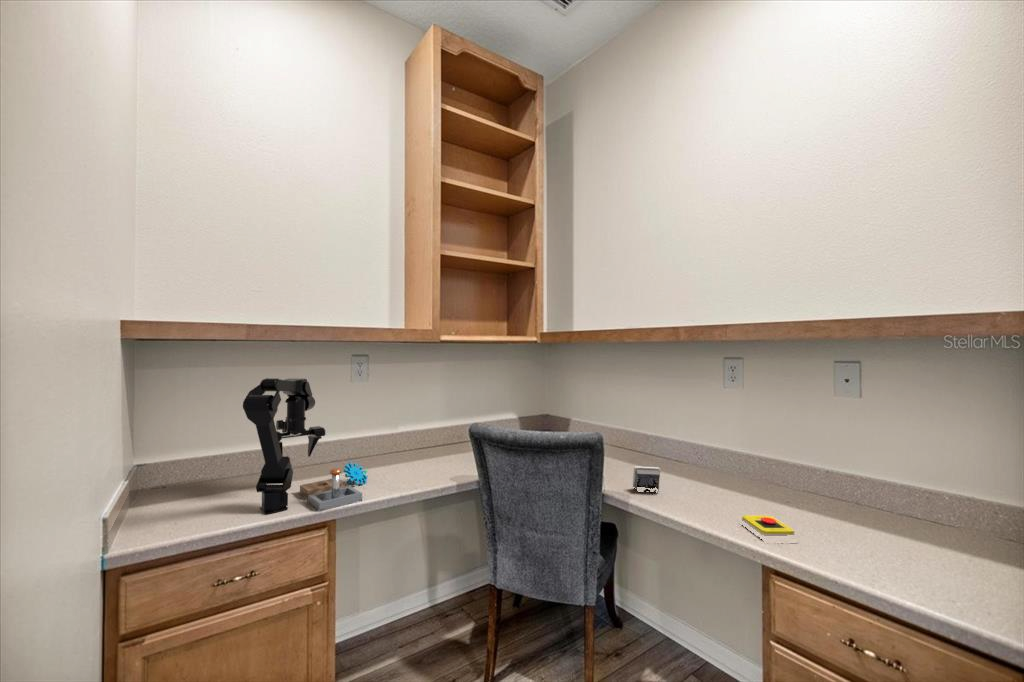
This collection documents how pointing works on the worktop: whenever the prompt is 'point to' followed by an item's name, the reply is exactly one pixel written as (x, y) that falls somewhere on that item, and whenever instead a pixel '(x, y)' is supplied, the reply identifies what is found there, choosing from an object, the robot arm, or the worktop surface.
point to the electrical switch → (646, 477)
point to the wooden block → (317, 487)
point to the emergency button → (768, 525)
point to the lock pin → (335, 482)
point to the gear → (355, 473)
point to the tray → (325, 501)
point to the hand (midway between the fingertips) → (295, 458)
